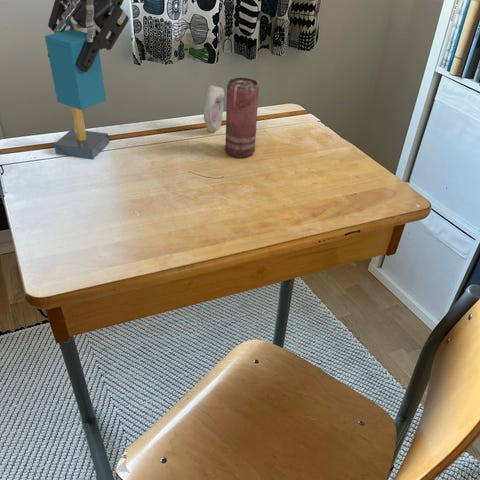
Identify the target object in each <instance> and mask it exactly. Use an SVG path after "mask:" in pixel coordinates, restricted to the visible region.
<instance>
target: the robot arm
mask: <svg viewBox="0 0 480 480" xmlns="http://www.w3.org/2000/svg"><path fill="white" fill-rule="evenodd" d="M124 1H125V0H54V2H53V6H52V9H51V13H50V17H49V19H48V22H47V27H48V28H49V29H50V30H51V31H52V32H53V34H55V33H58V32H62V31H66V28H67V27H69V28H68V30H70V29H73V30H77V31H81V32H83V31H84V29H86V33H87V43H86V42H84V45H83V47H82V49H81V52H80V54H79V56H78V58H77V61H76V66H77V67H78V68H79V69H81V70H82V71H84V72H87V71H88V70H89V69H90V67H91V66H92V64H93V61H94V59H95V57H96V55H97V52H99V53H100V52H101V51H102V50H103V49H105V50H106V51H111V50H112V49H113V47H114V45H115V44H116V42H117V40H118V39H119V37H120V36H121V34H122V33H123V30H124V29H125V27H126V25H127V24H128V22H129V20H130V17H129V15H127V13H126V12H125V11H124V9H123V8H122V5H123V3H124ZM72 19H73V21H74V22H75V23H74V22H73V21H72ZM109 34H110V35H109ZM95 35H97V36H95ZM107 36H108V37H107ZM47 57H48V58H49V55H48V54H47Z"/></svg>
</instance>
